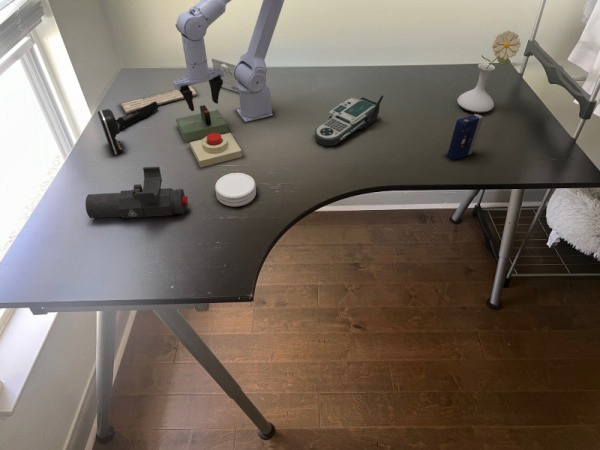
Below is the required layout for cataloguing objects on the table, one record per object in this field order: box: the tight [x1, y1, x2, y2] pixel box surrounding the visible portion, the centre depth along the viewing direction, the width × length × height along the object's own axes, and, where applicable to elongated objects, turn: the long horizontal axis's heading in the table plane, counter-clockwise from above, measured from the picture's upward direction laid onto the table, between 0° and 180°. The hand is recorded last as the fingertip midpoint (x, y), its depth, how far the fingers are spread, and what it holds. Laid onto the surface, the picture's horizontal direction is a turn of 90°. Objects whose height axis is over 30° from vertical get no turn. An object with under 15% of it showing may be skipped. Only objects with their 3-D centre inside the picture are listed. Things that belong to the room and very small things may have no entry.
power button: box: [207, 133, 222, 146], centre depth 123 cm, size 4×4×2 cm
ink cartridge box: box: [211, 58, 239, 94], centre depth 151 cm, size 2×11×10 cm, turn 57°
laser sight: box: [84, 166, 189, 219], centre depth 104 cm, size 10×22×10 cm, turn 95°
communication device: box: [314, 95, 384, 147], centre depth 133 cm, size 12×24×9 cm, turn 137°
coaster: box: [214, 172, 257, 208], centre depth 112 cm, size 10×10×4 cm
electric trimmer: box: [116, 102, 159, 131], centre depth 138 cm, size 4×16×3 cm, turn 142°
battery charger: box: [97, 108, 124, 156], centre depth 124 cm, size 7×4×11 cm, turn 28°
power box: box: [189, 132, 243, 168], centre depth 125 cm, size 12×10×4 cm
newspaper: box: [120, 85, 198, 115], centre depth 147 cm, size 24×7×2 cm, turn 121°
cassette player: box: [446, 113, 484, 161], centre depth 122 cm, size 7×2×12 cm, turn 117°
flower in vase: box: [456, 29, 522, 113], centre depth 137 cm, size 13×11×25 cm
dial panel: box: [175, 109, 229, 143], centre depth 134 cm, size 13×9×3 cm
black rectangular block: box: [199, 104, 211, 124], centre depth 132 cm, size 5×2×4 cm, turn 25°
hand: (203, 105), depth 130 cm, fingers open, 7 cm apart
